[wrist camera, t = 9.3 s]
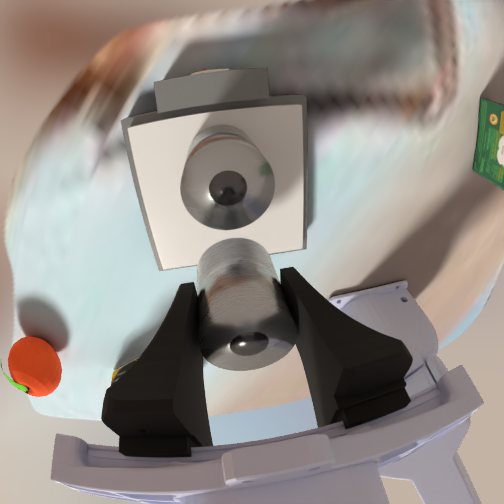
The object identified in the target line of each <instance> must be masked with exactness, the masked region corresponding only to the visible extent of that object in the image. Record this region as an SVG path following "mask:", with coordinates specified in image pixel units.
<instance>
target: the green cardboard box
mask: <svg viewBox="0 0 504 504" xmlns="http://www.w3.org/2000/svg"><path fill="white" fill-rule="evenodd" d="M473 171H474V172H476V173H477V174H479V175H480V176H482V177H484V178H485V179H487V180H489V181H490V182H492V183H494V184H495V185H496V186H498V187H499V188H501V189H502V190H504V105H502V104H499V103H496V102H493V101H490V100H487V99H483V98H481V99H480V111H479V129H478V138H477V146H476V150H475V160H474V166H473Z"/></svg>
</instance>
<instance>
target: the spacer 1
mask: <svg viewBox="0 0 504 504" xmlns="http://www.w3.org/2000/svg"><path fill="white" fill-rule="evenodd" d="M274 191H275V178H274V173H273V171H272V168H271V166H270V164H269V162H268V161H267V160H266V158H265V157H264V156H263V154H262V153H261V152H260V151H259V149H258V148H257V147H256V145H255V144H254V143H253V142H252V140H251V139H250V138H249V136H248V135H247V134H246V133H245V132H243V131H242V130H240V129H238V128H236V127H234V126H230V125H215V126H211V127H209V128H206V129H205V130H203V131H201V132H200V133H199V134H198V135H197V136H196V137H195V138H194V139H193V141H192V142H191V144H190V146H189V149H188V153H187V157H186V161H185V165H184V169H183V173H182V178H181V184H180V192H181V198H182V201H183V204H184V206H185V208H186V210H187V211H188V212H189V214H190V215H191V216H192V217H193V218H194V219H195V220H197V221H198V222H199V223H201V224H203V225H205V226H207V227H210V228H213V229H218V230H234V229H239V228H242V227H245V226H247V225H249V224H251V223H253V222H254V221H256V220H257V219H258V218H259V217H261V216H262V215H263V214H264V212H265V211H266V210H267V208H268V207H269V205H270V203H271V201H272V199H273V196H274Z"/></svg>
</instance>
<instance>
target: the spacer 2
mask: <svg viewBox="0 0 504 504" xmlns="http://www.w3.org/2000/svg"><path fill="white" fill-rule="evenodd" d="M197 284H198V319H199V341H200V351H201V353H202V355H203V356H204V358H205V359H206V360H207V361H208V362H210V363H211V364H213V365H215V366H217V367H220V368H223V369H227V370H234V371H246V370H253V369H258V368H262V367H265V366H268V365H270V364H273V363H275V362H276V361H278V360H280V359H281V358H283V357H284V356H285V355H286V354H288V353H289V352H290V350H291V349H292V348H293V346H294V345H295V343H296V340H297V328H296V326H295V323H294V320H293V317H292V314H291V312H290V309H289V306H288V304H287V301H286V298H285V295H284V293H283V290H282V287H281V284H280V282H279V279H278V276H277V274H276V271H275V268H274V266H273V263H272V260H271V258H270V255H269V253H268V252H267V250H266V249H265V248H264V247H263V246H262V245H260V244H259V243H257V242H255V241H253V240H250V239H246V238H229V239H225V240H222V241H219V242H217V243H215V244H213V245H212V246H210V247H209V248H208V249H207V250H206V251H205V252H204V253H203V255H202V256H201V258H200V260H199V262H198V267H197Z"/></svg>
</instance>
